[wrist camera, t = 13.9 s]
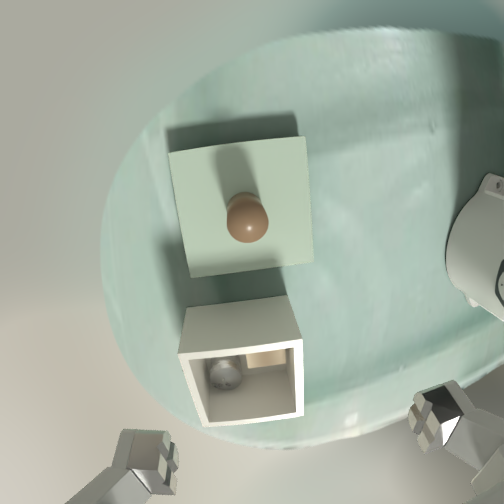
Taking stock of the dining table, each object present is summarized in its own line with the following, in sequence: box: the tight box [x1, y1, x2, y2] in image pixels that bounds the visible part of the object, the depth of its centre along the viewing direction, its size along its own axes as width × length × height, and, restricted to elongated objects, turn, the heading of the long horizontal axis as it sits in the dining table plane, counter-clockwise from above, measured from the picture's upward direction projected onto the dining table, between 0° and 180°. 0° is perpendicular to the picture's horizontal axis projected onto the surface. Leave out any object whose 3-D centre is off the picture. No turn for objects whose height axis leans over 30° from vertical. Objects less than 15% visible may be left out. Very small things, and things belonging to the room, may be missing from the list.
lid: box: [168, 136, 314, 278], centre depth 27 cm, size 12×12×7 cm
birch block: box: [246, 349, 286, 368], centre depth 33 cm, size 4×4×4 cm
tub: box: [178, 295, 304, 427], centre depth 32 cm, size 11×11×8 cm
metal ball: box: [210, 355, 242, 390], centre depth 35 cm, size 4×4×3 cm
